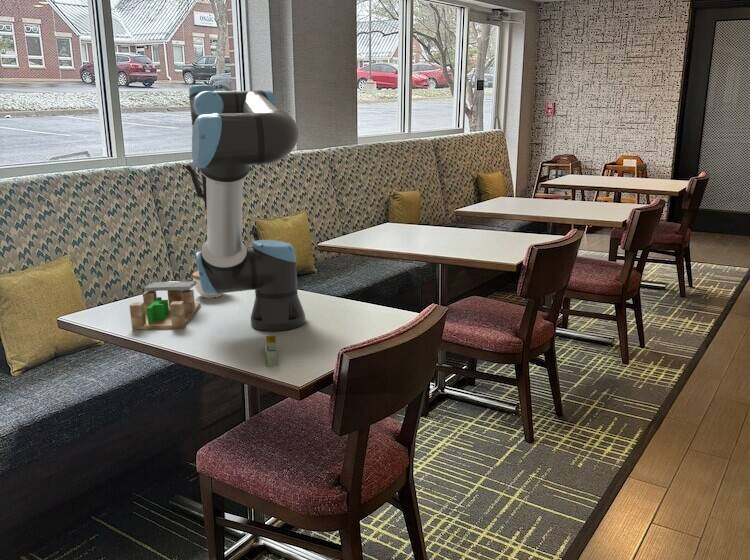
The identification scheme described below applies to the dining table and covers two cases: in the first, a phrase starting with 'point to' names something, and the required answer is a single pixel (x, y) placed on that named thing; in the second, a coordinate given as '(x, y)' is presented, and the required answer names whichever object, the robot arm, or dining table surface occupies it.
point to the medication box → (271, 351)
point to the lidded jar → (199, 287)
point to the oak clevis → (179, 310)
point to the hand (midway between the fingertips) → (212, 220)
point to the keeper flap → (170, 286)
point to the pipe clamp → (157, 310)
